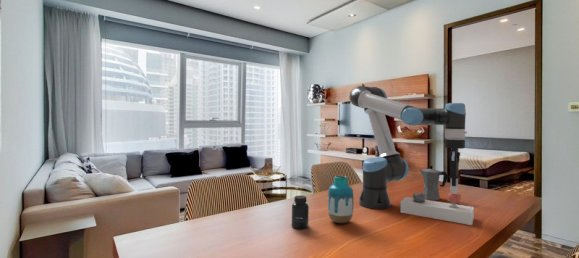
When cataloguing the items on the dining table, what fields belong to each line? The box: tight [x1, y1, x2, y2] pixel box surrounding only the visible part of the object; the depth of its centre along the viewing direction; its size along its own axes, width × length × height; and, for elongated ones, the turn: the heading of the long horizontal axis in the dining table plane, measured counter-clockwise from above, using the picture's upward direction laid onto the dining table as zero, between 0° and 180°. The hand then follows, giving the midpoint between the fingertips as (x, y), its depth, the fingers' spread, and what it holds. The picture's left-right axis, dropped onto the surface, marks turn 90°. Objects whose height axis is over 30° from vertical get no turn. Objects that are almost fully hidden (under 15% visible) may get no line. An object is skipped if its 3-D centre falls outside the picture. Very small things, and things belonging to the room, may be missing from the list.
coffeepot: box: [419, 165, 449, 201], centre depth 154 cm, size 15×9×18 cm, turn 37°
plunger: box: [412, 192, 426, 203], centre depth 131 cm, size 5×5×8 cm
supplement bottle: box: [291, 195, 310, 230], centre depth 113 cm, size 7×7×12 cm
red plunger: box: [447, 192, 462, 209], centre depth 122 cm, size 5×5×8 cm
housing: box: [400, 196, 475, 226], centre depth 127 cm, size 28×10×5 cm, turn 54°
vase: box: [327, 175, 354, 224], centre depth 118 cm, size 11×11×19 cm
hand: (453, 193), depth 122 cm, fingers closed
